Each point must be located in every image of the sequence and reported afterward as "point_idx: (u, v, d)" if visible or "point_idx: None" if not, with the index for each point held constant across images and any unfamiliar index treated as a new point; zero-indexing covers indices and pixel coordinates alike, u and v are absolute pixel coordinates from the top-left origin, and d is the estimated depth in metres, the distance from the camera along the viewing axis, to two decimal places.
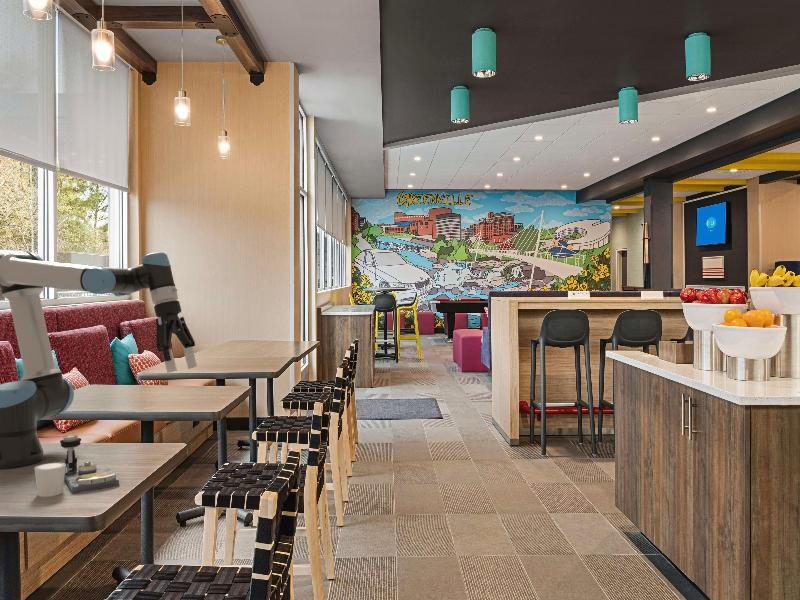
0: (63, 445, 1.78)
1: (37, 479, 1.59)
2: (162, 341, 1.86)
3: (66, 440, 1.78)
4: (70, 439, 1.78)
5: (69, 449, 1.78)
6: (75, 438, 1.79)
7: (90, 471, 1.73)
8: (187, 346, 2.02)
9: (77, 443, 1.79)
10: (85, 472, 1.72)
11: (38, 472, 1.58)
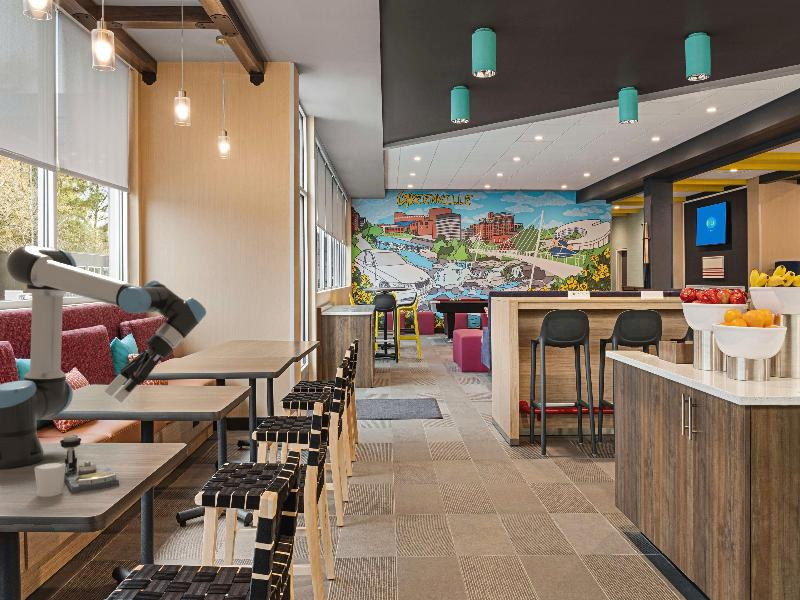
0: (63, 445, 1.78)
1: (37, 479, 1.59)
2: (145, 377, 1.81)
3: (66, 440, 1.78)
4: (70, 439, 1.78)
5: (69, 449, 1.78)
6: (75, 438, 1.79)
7: (90, 471, 1.73)
8: (124, 375, 1.94)
9: (77, 443, 1.79)
10: (85, 472, 1.72)
11: (38, 472, 1.58)
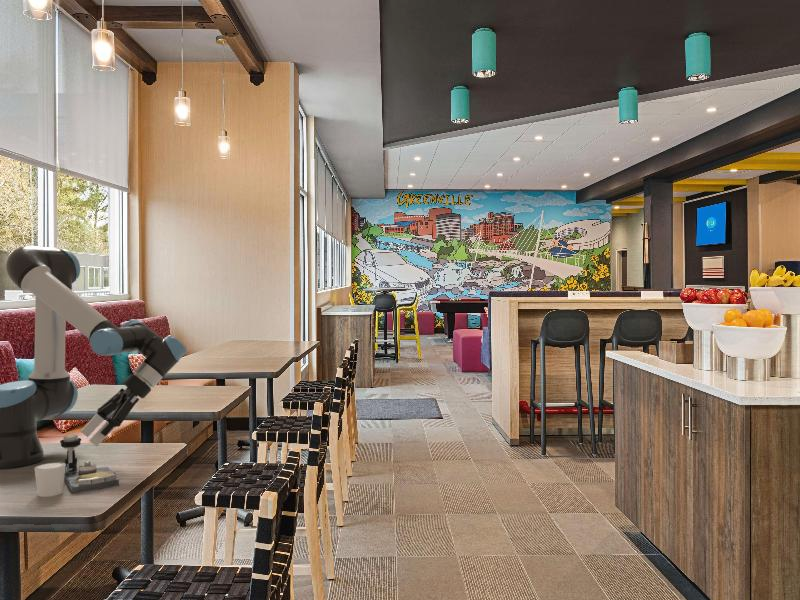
0: (63, 445, 1.78)
1: (37, 479, 1.59)
2: (121, 420, 1.77)
3: (66, 440, 1.78)
4: (70, 439, 1.78)
5: (69, 449, 1.78)
6: (75, 438, 1.79)
7: (90, 471, 1.73)
8: (101, 414, 1.89)
9: (77, 443, 1.79)
10: (85, 472, 1.72)
11: (38, 472, 1.58)
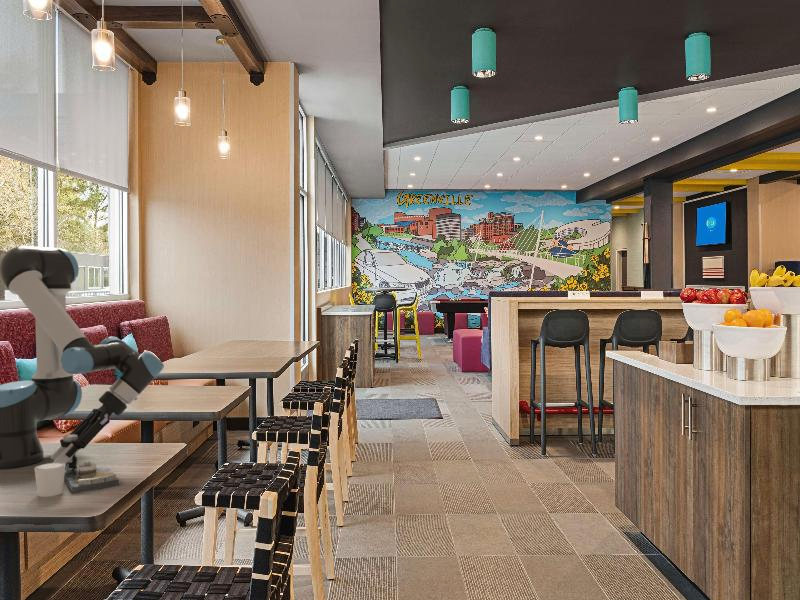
0: (63, 445, 1.77)
1: (37, 479, 1.59)
2: (86, 442, 1.76)
3: (66, 440, 1.77)
4: (70, 439, 1.78)
5: None
6: (75, 438, 1.79)
7: (90, 471, 1.73)
8: None
9: None
10: (85, 472, 1.72)
11: (38, 472, 1.58)
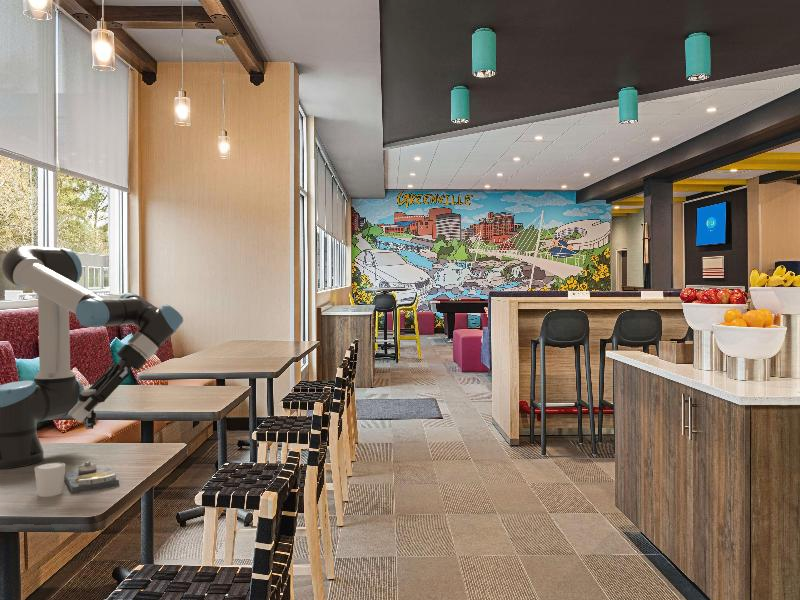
0: (81, 399, 1.69)
1: (37, 479, 1.59)
2: (106, 396, 1.68)
3: (84, 394, 1.70)
4: (89, 393, 1.70)
5: None
6: (94, 392, 1.71)
7: (90, 471, 1.73)
8: None
9: None
10: (85, 472, 1.72)
11: (38, 472, 1.58)
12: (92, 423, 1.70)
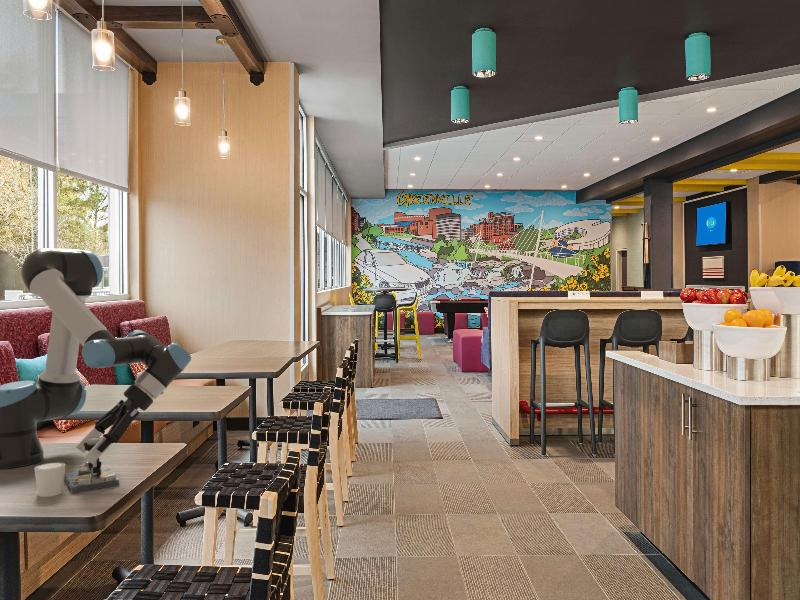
0: (87, 448, 1.67)
1: (37, 479, 1.59)
2: (119, 435, 1.63)
3: (90, 443, 1.67)
4: (94, 442, 1.67)
5: None
6: None
7: None
8: (98, 428, 1.75)
9: None
10: (85, 472, 1.72)
11: (38, 472, 1.58)
12: (97, 473, 1.67)
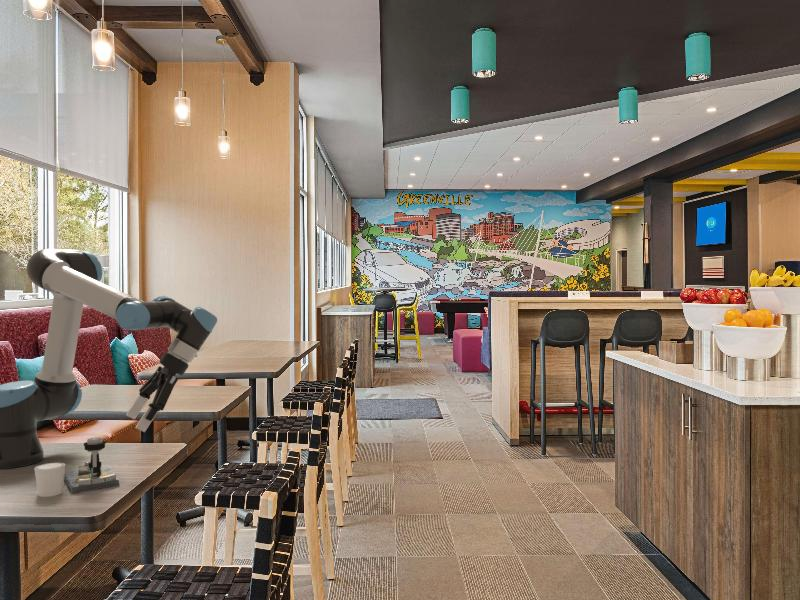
0: (87, 448, 1.67)
1: (37, 479, 1.59)
2: (164, 403, 1.72)
3: (90, 443, 1.67)
4: (94, 442, 1.67)
5: (93, 452, 1.67)
6: (100, 441, 1.68)
7: None
8: (143, 395, 1.85)
9: (102, 446, 1.68)
10: (85, 472, 1.72)
11: (38, 472, 1.58)
12: (97, 473, 1.67)
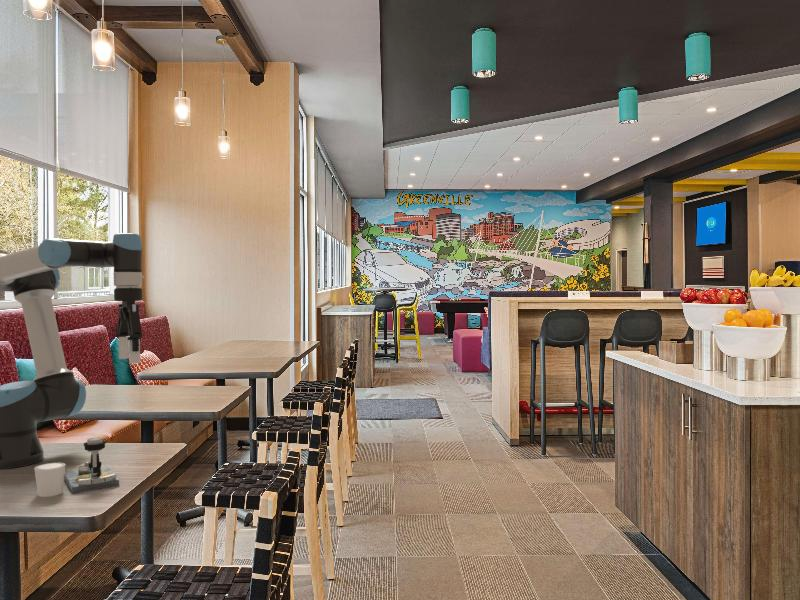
0: (87, 448, 1.67)
1: (37, 479, 1.59)
2: (139, 330, 1.76)
3: (90, 443, 1.67)
4: (94, 442, 1.67)
5: (93, 452, 1.67)
6: (100, 441, 1.68)
7: None
8: (122, 335, 1.90)
9: (102, 446, 1.68)
10: (85, 472, 1.72)
11: (38, 472, 1.58)
12: (97, 473, 1.67)
